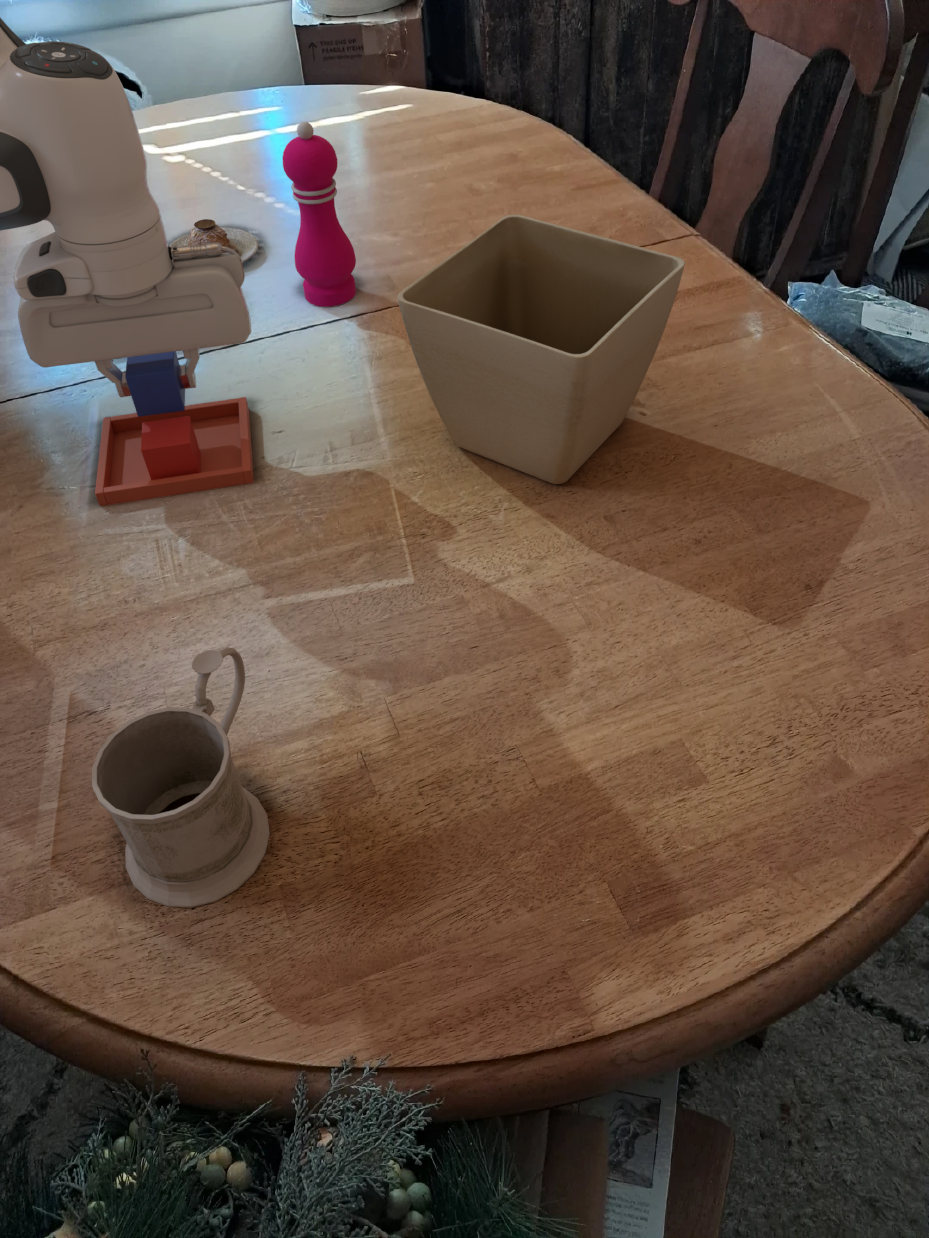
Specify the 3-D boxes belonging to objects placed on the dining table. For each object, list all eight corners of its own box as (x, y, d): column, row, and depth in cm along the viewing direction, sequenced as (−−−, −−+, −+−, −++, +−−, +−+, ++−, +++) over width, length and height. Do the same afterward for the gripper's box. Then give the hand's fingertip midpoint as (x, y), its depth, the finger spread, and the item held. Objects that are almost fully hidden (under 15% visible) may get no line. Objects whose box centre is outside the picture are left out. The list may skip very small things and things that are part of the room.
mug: (222, 927, 64) (174, 828, 55) (97, 879, 67) (33, 778, 58) (323, 755, 73) (296, 647, 65) (210, 719, 76) (169, 611, 67)
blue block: (137, 417, 96) (124, 376, 92) (139, 391, 99) (127, 351, 95) (185, 411, 96) (173, 370, 93) (185, 385, 99) (174, 345, 96)
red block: (153, 487, 95) (140, 450, 92) (155, 460, 98) (142, 422, 95) (200, 480, 96) (189, 442, 92) (200, 453, 99) (189, 415, 96)
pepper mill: (292, 290, 122) (260, 119, 107) (346, 274, 124) (322, 104, 109) (313, 315, 117) (283, 140, 103) (369, 299, 119) (347, 125, 105)
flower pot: (670, 414, 100) (690, 256, 88) (576, 520, 90) (584, 357, 78) (511, 363, 108) (509, 211, 96) (408, 454, 98) (391, 297, 86)
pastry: (150, 258, 129) (140, 224, 126) (228, 227, 135) (220, 193, 131) (197, 289, 123) (188, 254, 120) (277, 256, 128) (270, 221, 125)
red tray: (101, 510, 94) (94, 493, 93) (109, 433, 103) (102, 417, 101) (254, 486, 96) (250, 470, 94) (249, 412, 104) (245, 396, 103)
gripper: (236, 224, 90) (263, 358, 100) (3, 250, 88) (55, 385, 98) (238, 256, 85) (266, 393, 95) (-7, 284, 83) (48, 421, 93)
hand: (158, 389), depth 96 cm, fingers closed on blue block, 4 cm apart
